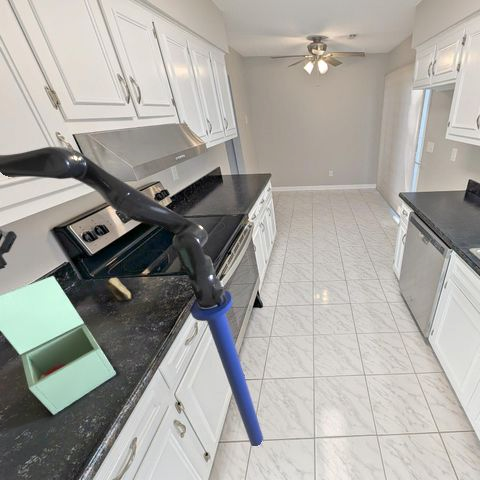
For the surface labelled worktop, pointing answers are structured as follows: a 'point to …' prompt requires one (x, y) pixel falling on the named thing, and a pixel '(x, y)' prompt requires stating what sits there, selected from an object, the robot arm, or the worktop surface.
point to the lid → (36, 314)
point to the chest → (66, 368)
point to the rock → (118, 289)
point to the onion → (52, 370)
